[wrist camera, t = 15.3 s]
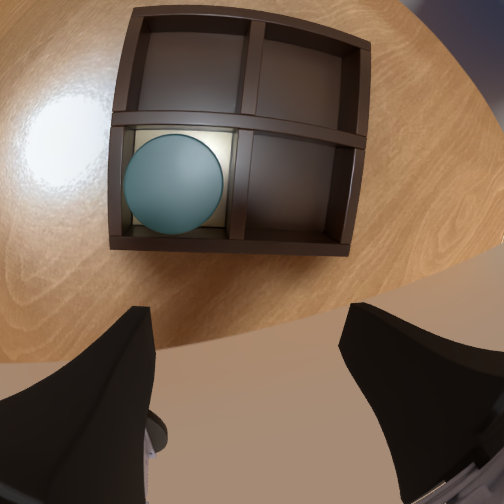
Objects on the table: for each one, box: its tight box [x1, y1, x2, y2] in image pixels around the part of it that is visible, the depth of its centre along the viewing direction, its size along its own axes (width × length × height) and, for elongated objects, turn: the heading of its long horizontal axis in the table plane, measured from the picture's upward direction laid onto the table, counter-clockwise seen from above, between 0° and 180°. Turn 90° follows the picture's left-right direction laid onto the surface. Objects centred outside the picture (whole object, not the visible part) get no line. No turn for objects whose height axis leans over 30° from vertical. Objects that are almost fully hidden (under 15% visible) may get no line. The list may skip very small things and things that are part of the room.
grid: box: [108, 5, 371, 257], centre depth 14 cm, size 14×14×3 cm
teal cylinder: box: [123, 134, 224, 234], centre depth 13 cm, size 4×4×4 cm
